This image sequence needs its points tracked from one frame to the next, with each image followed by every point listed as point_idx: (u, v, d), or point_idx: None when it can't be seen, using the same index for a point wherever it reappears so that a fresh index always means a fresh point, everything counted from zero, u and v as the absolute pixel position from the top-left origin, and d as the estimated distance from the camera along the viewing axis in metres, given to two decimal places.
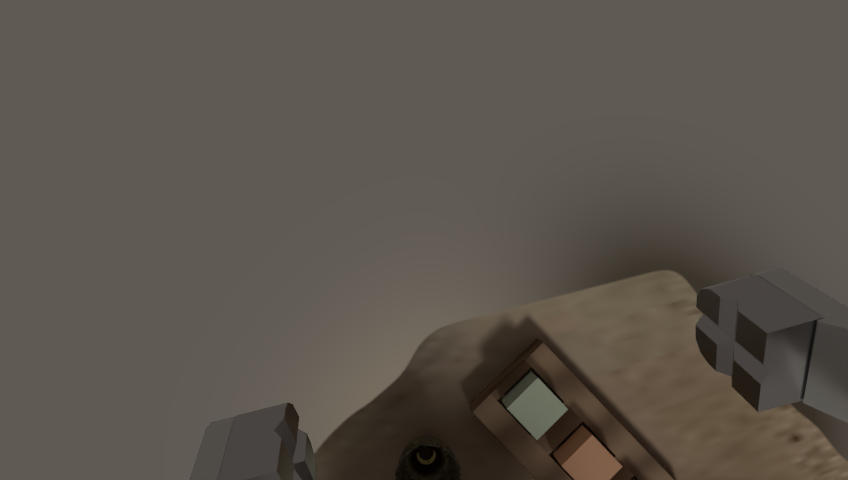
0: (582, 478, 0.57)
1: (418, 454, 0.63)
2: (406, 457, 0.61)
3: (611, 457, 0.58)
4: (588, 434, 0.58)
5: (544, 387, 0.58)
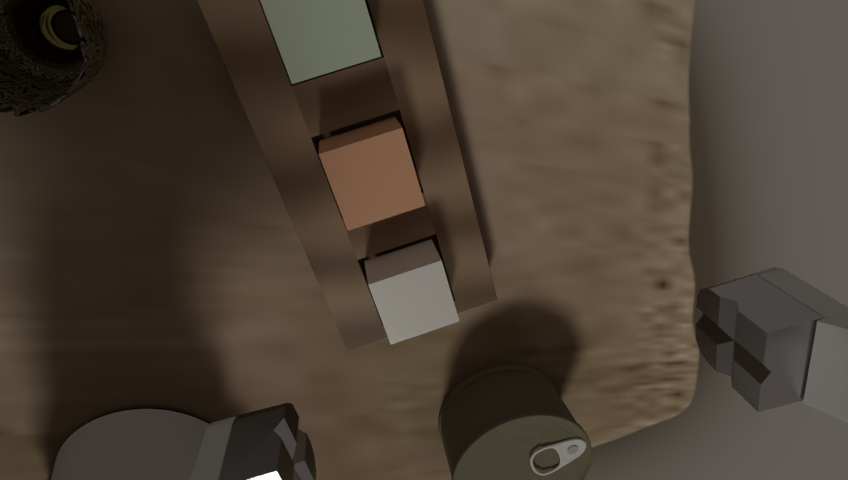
0: (347, 193, 0.30)
1: (48, 21, 0.29)
2: None
3: (415, 182, 0.30)
4: (396, 126, 0.29)
5: None
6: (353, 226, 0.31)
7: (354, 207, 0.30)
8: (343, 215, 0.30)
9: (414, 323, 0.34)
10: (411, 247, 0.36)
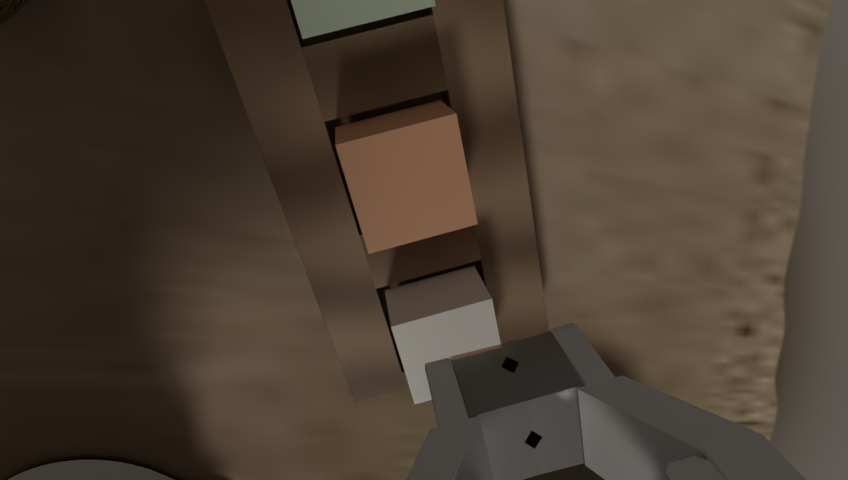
0: (372, 202, 0.21)
1: None
2: None
3: (466, 191, 0.22)
4: (447, 111, 0.21)
5: None
6: (377, 248, 0.22)
7: (380, 222, 0.22)
8: (364, 232, 0.22)
9: None
10: (447, 275, 0.27)
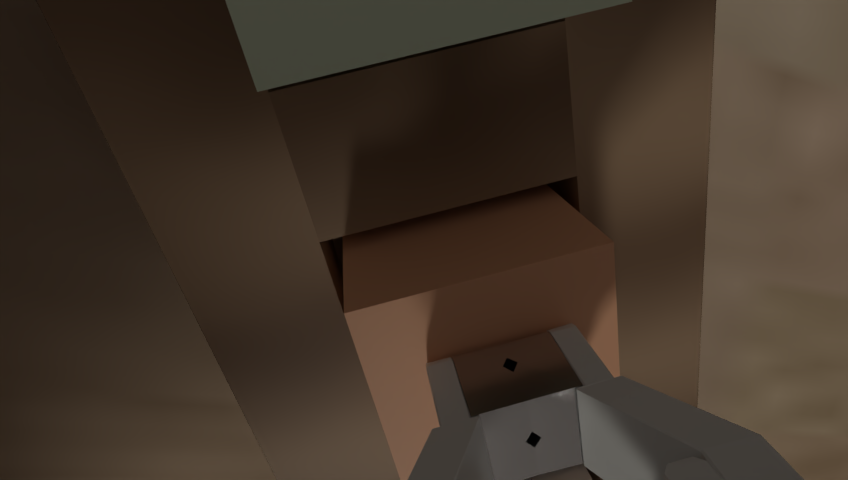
0: (420, 413, 0.10)
1: None
2: None
3: None
4: (584, 229, 0.10)
5: None
6: None
7: None
8: (399, 464, 0.11)
9: None
10: None
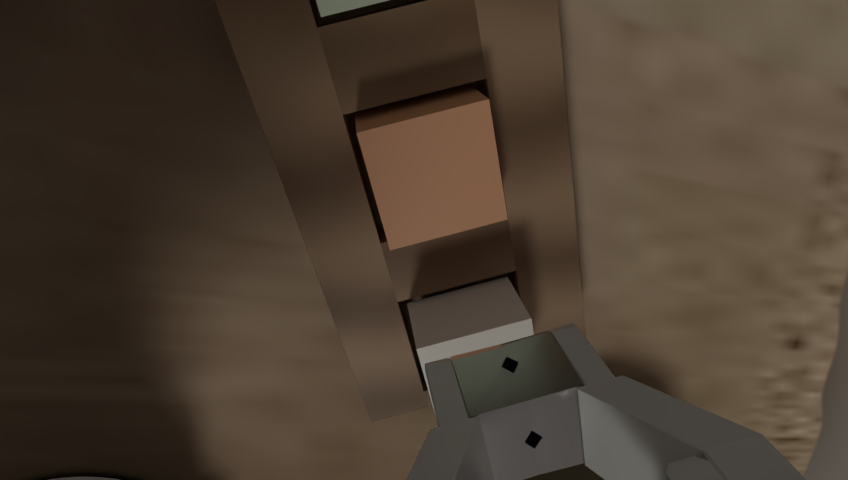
0: (395, 195, 0.20)
1: None
2: None
3: (497, 184, 0.20)
4: (478, 97, 0.19)
5: None
6: (399, 244, 0.20)
7: (404, 217, 0.20)
8: (385, 227, 0.20)
9: None
10: (477, 287, 0.24)
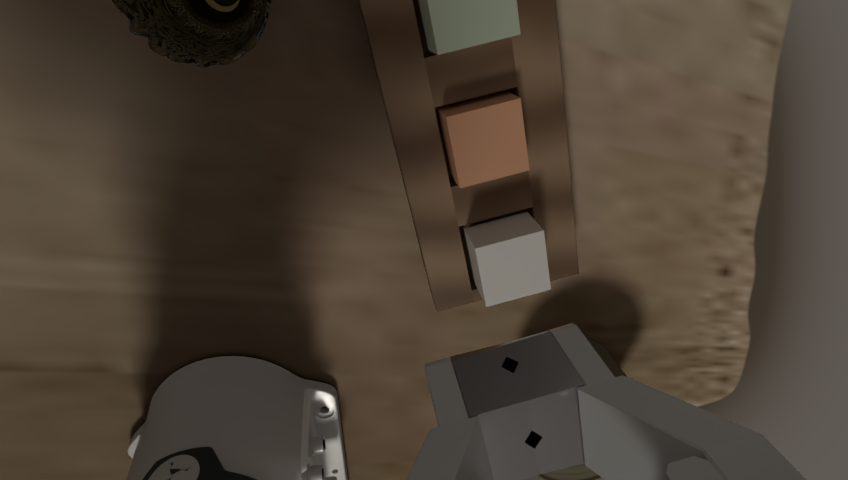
0: (465, 154, 0.34)
1: None
2: None
3: (524, 148, 0.34)
4: (513, 97, 0.33)
5: None
6: (465, 184, 0.34)
7: (469, 167, 0.34)
8: (458, 174, 0.34)
9: (510, 288, 0.37)
10: (508, 218, 0.38)
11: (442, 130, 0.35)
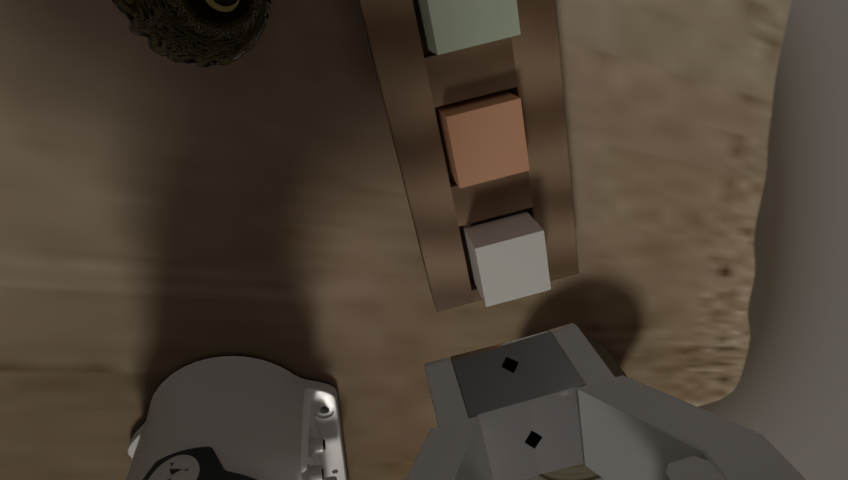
0: (465, 154, 0.34)
1: None
2: None
3: (524, 148, 0.34)
4: (513, 97, 0.33)
5: None
6: (465, 184, 0.34)
7: (469, 167, 0.34)
8: (458, 174, 0.34)
9: (510, 288, 0.37)
10: (508, 218, 0.38)
11: (442, 130, 0.35)
